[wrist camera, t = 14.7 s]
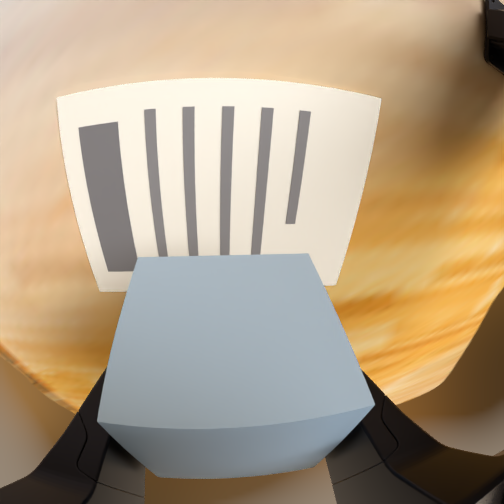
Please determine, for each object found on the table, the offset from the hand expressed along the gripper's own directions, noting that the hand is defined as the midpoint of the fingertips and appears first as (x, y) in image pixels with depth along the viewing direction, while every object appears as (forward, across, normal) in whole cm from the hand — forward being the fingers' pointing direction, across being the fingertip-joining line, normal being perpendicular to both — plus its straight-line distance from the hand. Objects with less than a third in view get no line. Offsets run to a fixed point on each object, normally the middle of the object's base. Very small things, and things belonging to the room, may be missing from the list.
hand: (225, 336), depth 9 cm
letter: (+10, 0, 0) cm, 10 cm away
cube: (+1, 0, 0) cm, 1 cm away
